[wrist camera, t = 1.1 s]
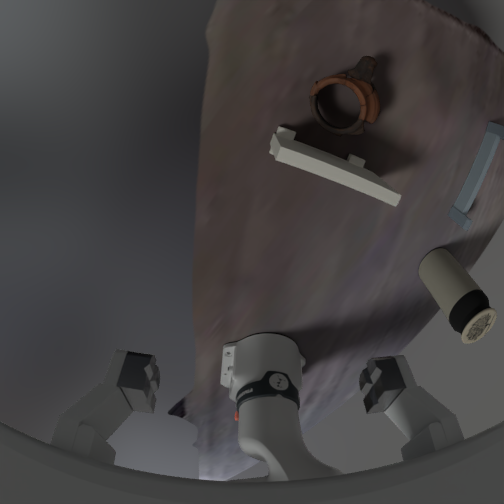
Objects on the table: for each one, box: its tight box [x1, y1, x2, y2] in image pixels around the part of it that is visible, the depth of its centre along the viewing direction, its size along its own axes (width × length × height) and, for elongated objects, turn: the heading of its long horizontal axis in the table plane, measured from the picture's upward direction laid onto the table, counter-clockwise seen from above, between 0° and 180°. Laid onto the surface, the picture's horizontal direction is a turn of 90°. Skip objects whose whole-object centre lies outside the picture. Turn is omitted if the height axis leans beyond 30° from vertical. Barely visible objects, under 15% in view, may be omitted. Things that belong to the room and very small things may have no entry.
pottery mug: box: [309, 56, 380, 136], centre depth 33 cm, size 12×10×8 cm
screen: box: [269, 126, 401, 207], centre depth 36 cm, size 4×16×10 cm, turn 72°
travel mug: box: [419, 248, 497, 344], centre depth 42 cm, size 8×8×18 cm
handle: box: [448, 121, 504, 231], centre depth 37 cm, size 20×2×5 cm, turn 162°
